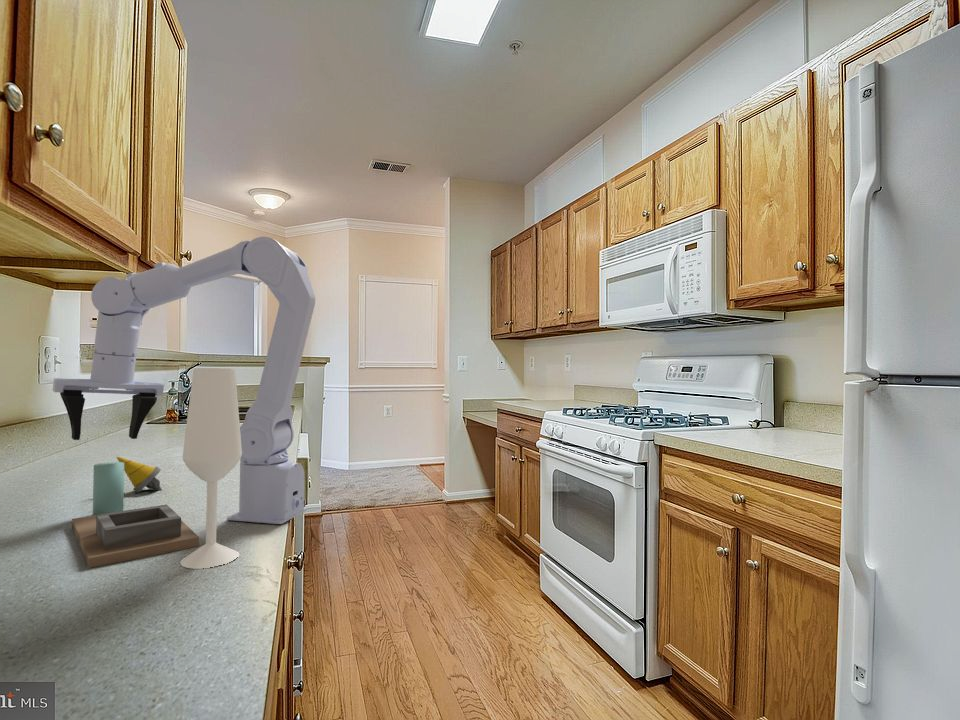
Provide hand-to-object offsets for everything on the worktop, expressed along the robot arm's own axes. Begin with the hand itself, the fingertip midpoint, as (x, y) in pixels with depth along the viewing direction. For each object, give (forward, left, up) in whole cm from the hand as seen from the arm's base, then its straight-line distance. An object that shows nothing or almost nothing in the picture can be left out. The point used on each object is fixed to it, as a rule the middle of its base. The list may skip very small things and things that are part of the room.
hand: (105, 438), depth 85 cm
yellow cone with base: (+5, -13, -12) cm, 18 cm away
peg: (-1, 0, -12) cm, 12 cm away
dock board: (-13, +8, -12) cm, 20 cm away
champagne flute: (-29, +13, -12) cm, 34 cm away
